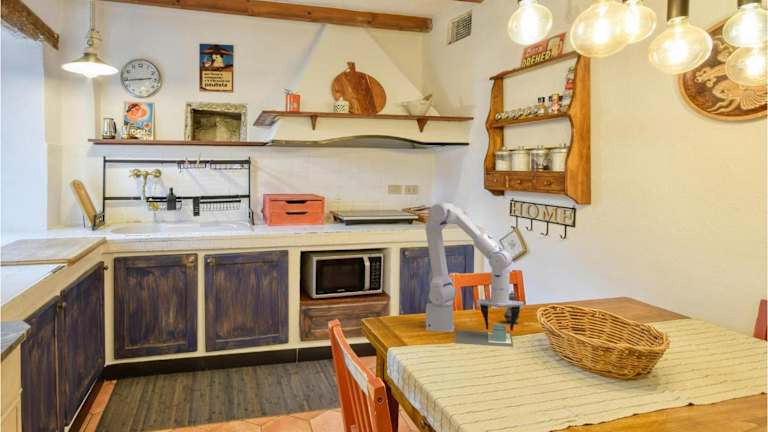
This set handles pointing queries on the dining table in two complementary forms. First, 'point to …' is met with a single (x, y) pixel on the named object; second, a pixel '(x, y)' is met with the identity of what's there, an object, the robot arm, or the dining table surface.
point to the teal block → (499, 332)
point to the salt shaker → (508, 313)
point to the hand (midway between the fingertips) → (499, 329)
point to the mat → (481, 338)
